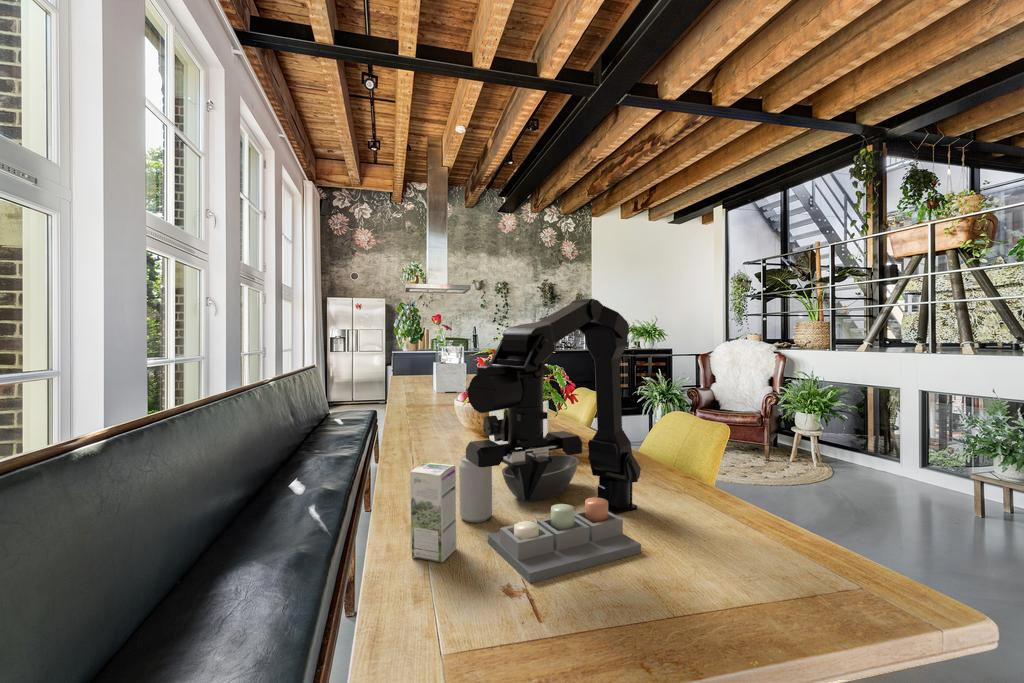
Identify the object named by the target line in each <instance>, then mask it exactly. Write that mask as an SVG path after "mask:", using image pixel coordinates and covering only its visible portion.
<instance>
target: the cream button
mask: <svg viewBox="0 0 1024 683" xmlns="http://www.w3.org/2000/svg"><path fill="white" fill-rule="evenodd" d="M536 523H537V522H536ZM536 523H534V522H531V521H528V520H527V521H525V520H524V521H523V520H522V521H519V522H516V523H515V524H513V525H514V535H515V536H516V537H517V538H518V539H519V540H523V539H527V538H532V537H536V536H539V526H538V524H536Z"/></svg>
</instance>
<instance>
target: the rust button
mask: <svg viewBox="0 0 1024 683" xmlns="http://www.w3.org/2000/svg"><path fill="white" fill-rule="evenodd" d="M584 510H585V519H587V520H588V521H590V522H592V523H593V524H594V523H598V522H603V521H607V520H608V512H609V511H608V501H607V500H605V499H603V498H598V497H588V498H586V499H585V501H584Z"/></svg>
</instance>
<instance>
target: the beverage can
mask: <svg viewBox="0 0 1024 683" xmlns="http://www.w3.org/2000/svg"><path fill="white" fill-rule="evenodd" d="M460 460H461V461H460V462H459V464H458V473H459V474H458V476H459V478H458V479H459V483H458V484H459V486H458V488H459V492H458V493H459V494H458V495H459V516H460V518H462V519H463V520H464V521H465V522H469V523H482V522H485V521H487V519H488V520H489V519H490V518H491V516H492V515H493V466H490V467H478V466H476V465H475V464H473V463H472V462H470V461H468V460H467V459H466V454H464V455H462V456H461V457H460Z"/></svg>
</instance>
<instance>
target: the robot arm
mask: <svg viewBox="0 0 1024 683" xmlns="http://www.w3.org/2000/svg"><path fill="white" fill-rule="evenodd" d="M576 331H579V332H580V333H581V334H582V335H583V336H584V341H585V346H586V349H587V350H588V351H589V353H590V355H591V357H592V358H593V359H594V377H595V397H596V398H595V399H596V401H595V402H596V404H595V405H596V422H597V423H596V425H597V430H596V432H595V434H594V436H593V437H592V439H589V440H588V443H587V447H588V456H587V460H589V464H590V469H591V474H592V476H594V477H598V484H597V498H603V499H605V500H607V501H608V512H610V513H612V514H618V513H624V512H628V511H632V510H637V509H638V505H636V504H635V503H633V483H637V482H639V479H640V475H641V466H640V464H639V463H638V462H637V460H636V458H635V457H634V455H633V452H632V451H633V450H632V444H631V443H632V442H631V441H630V439H629V437H628V436H627V434H626V433H625V431H624V430H623V414H622V413H623V412H622V388H621V363H620V361H621V357H622V355H623V353H624V352H625V350H626V348H627V346H628V339H629V337H628V336H629V333H630V332H629V331H630V325H629V323H628V321H627V320H626V319H625V318H624V317H623V315H621V313H619V312H618V311H616V310H614V309H611V308H610V307H607V306H605V305H603V304H602V303H601V302H600V301H599V300H598V299H595V298H579V299H578V298H577V299H574V300H572V301H571V302H570V303H569V304H567V305H565V306H563V307H562V308H560V309H558V310H557V311H555V312H553V313H551V314H550V315H547V316H545V317H544V318H542V319H541V320H539V321H535V322H529V323H522V324H518V325H514V326H509V327H507V328H506V329H505V330H504V331H503V332H502V336H503V337H501V339H500V342H499V344H498V346H497V348H496V349H495V352H494V353H493V356H492V357H491V359H490V361H489V363H488V365H479V366H477V374H476V375H474V376H473V377H472V379H471V380H470V382H469V385H468V387H467V398H468V401H469V404H470V406H471V407H472V408H473V409H474V410H475V411H476V412H477V413H480V414H486V413H490V412H491V413H492V412H495V411H501V410H504V412H503V418H502V419H501V418H500V419H498V416H497V415H488V416H487V415H486V416H484V417H483V421H482V422H483V425H482V426H483V427H482V428H483V434H484V436H485V437H492V436H493V439H494V441H493V440H491V439H483V440H474V441H472V440H471V441H469V442H468V444H467V445H466V448H465V455H466V459H467V460H468V461H470V462H472V463H473V464H475V465H476V466H478V467H490V466H492V467H495V466H496V467H497V466H500V464H501V463H503V464H505V465H506V466H509V467H510V469H511V471H512V473H513V475H514V478H515V481H516V484H517V486H518V489H519V492H520V495H521V498H522V500H523V502H530V501H529V500H530V498H531V496H532V494H533V492H534V490H535V487H536V485H537V483H538V481H539V479H540V477H541V476H542V474H543V472H544V471H545V469H546V467H547V465H548V464H549V463H552V462H553V459H552V458H550V457H549V455H550V454H549V452H550V451H554V450H555V451H556V450H562V451H563V453H564V454H565V455H570V456H573V455H580V454H582V453H583V441H582V438H580V435H577V434H573V433H571V432H568V431H565V430H562V431H554V432H553V431H551V432H547V433H546V435H545V436H544V420H548V412H547V411H545V410H544V376H550V375H551V374H552V370H550V368H549V367H548V366H546V365H545V363H544V362H545V361H547V359H548V358H549V357H550V356H551V355H552V354H553V353H554V352H555V350H556V345H557V344H558V342H560V341H561V340H563V339H564V338H566V337H568V336H569V335H571V334H572V333H574V332H576ZM497 442H507V443H503V444H499V443H497ZM522 500H521V501H522Z"/></svg>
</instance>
